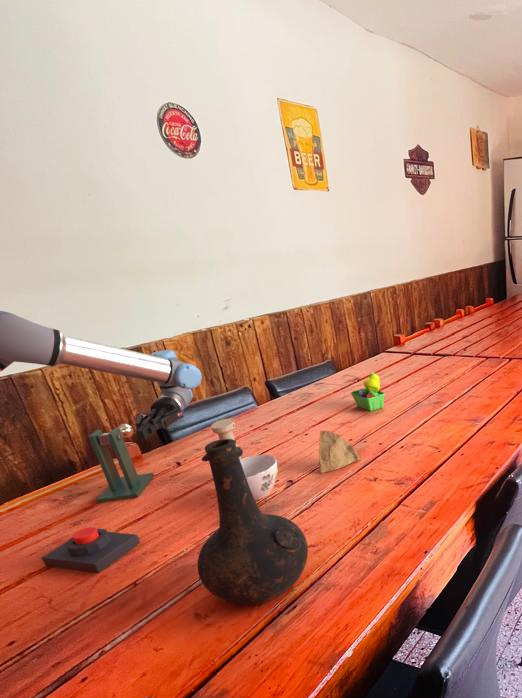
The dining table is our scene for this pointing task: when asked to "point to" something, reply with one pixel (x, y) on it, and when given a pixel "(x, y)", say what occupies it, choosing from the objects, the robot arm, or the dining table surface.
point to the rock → (335, 452)
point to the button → (85, 536)
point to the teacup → (260, 474)
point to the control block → (92, 552)
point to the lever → (125, 431)
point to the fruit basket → (369, 394)
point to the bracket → (118, 485)
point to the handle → (224, 429)
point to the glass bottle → (247, 538)
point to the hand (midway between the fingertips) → (141, 435)
